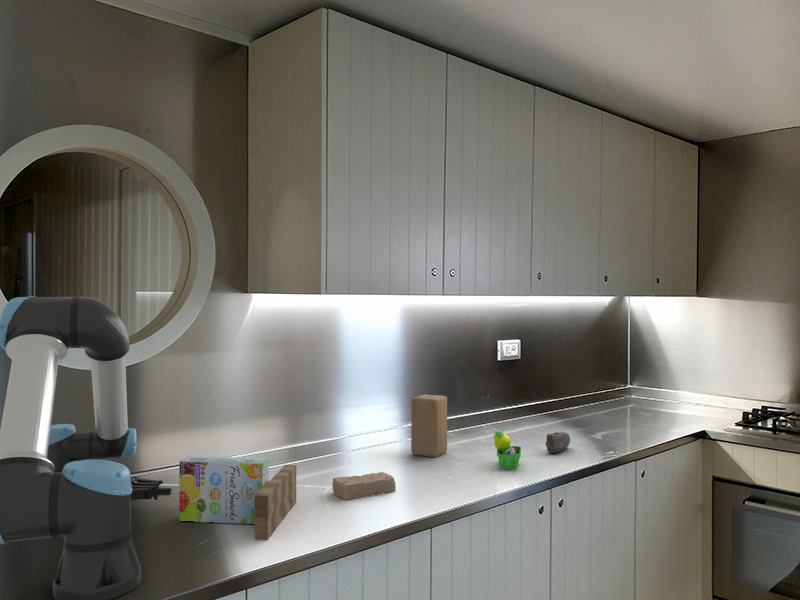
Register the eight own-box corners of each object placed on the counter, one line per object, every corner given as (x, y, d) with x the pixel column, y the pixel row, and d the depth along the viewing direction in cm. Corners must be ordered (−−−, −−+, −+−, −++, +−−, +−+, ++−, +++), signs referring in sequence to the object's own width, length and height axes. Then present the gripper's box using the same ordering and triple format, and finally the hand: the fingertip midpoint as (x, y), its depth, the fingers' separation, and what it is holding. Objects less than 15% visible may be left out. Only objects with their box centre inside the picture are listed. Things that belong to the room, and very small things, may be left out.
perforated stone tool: (562, 446, 233) (562, 427, 233) (575, 448, 229) (575, 429, 229) (541, 453, 222) (541, 433, 222) (554, 456, 219) (554, 436, 219)
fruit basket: (520, 470, 200) (520, 435, 200) (492, 469, 202) (492, 434, 202) (521, 461, 211) (521, 427, 211) (494, 460, 213) (494, 426, 213)
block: (410, 455, 220) (410, 397, 219) (422, 448, 228) (422, 393, 228) (436, 458, 215) (436, 399, 215) (448, 452, 224) (448, 395, 224)
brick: (383, 485, 186) (383, 469, 186) (397, 492, 178) (397, 476, 178) (331, 494, 177) (331, 477, 177) (343, 502, 170) (343, 485, 170)
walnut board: (267, 539, 143) (267, 495, 143) (254, 539, 143) (254, 495, 143) (296, 502, 169) (296, 465, 169) (285, 502, 169) (285, 464, 169)
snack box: (269, 517, 157) (269, 457, 157) (262, 525, 152) (262, 463, 151) (187, 514, 159) (187, 454, 159) (177, 522, 154) (177, 460, 154)
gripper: (108, 494, 167) (195, 497, 165) (79, 511, 154) (173, 514, 152) (108, 466, 167) (195, 468, 165) (79, 480, 154) (173, 483, 152)
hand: (185, 490), depth 158 cm, fingers closed
